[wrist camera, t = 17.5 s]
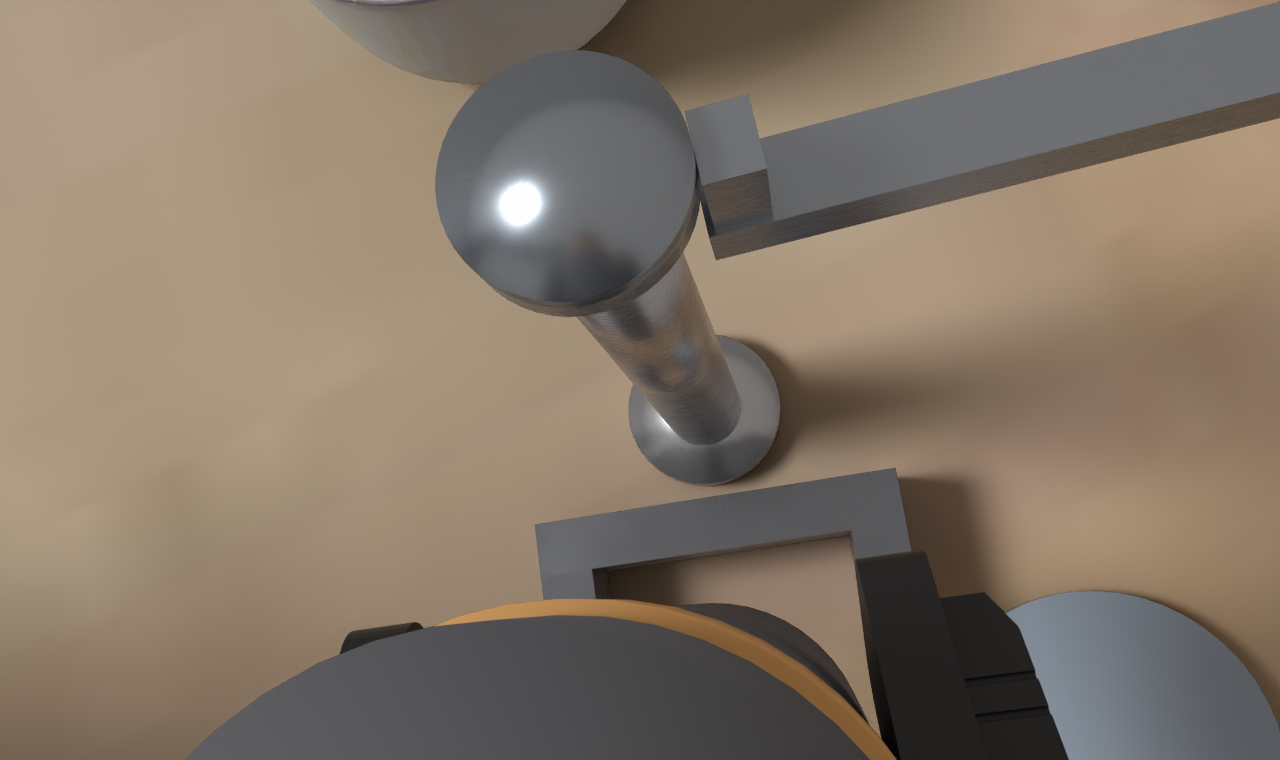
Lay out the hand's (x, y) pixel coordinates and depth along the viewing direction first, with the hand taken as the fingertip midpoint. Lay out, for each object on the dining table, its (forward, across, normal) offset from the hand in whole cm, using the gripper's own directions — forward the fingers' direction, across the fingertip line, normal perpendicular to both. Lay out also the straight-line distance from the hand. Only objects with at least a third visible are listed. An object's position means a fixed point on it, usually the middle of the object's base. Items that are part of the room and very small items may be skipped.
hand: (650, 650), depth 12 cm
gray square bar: (+6, +8, +2) cm, 11 cm away
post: (+16, 0, -8) cm, 18 cm away
